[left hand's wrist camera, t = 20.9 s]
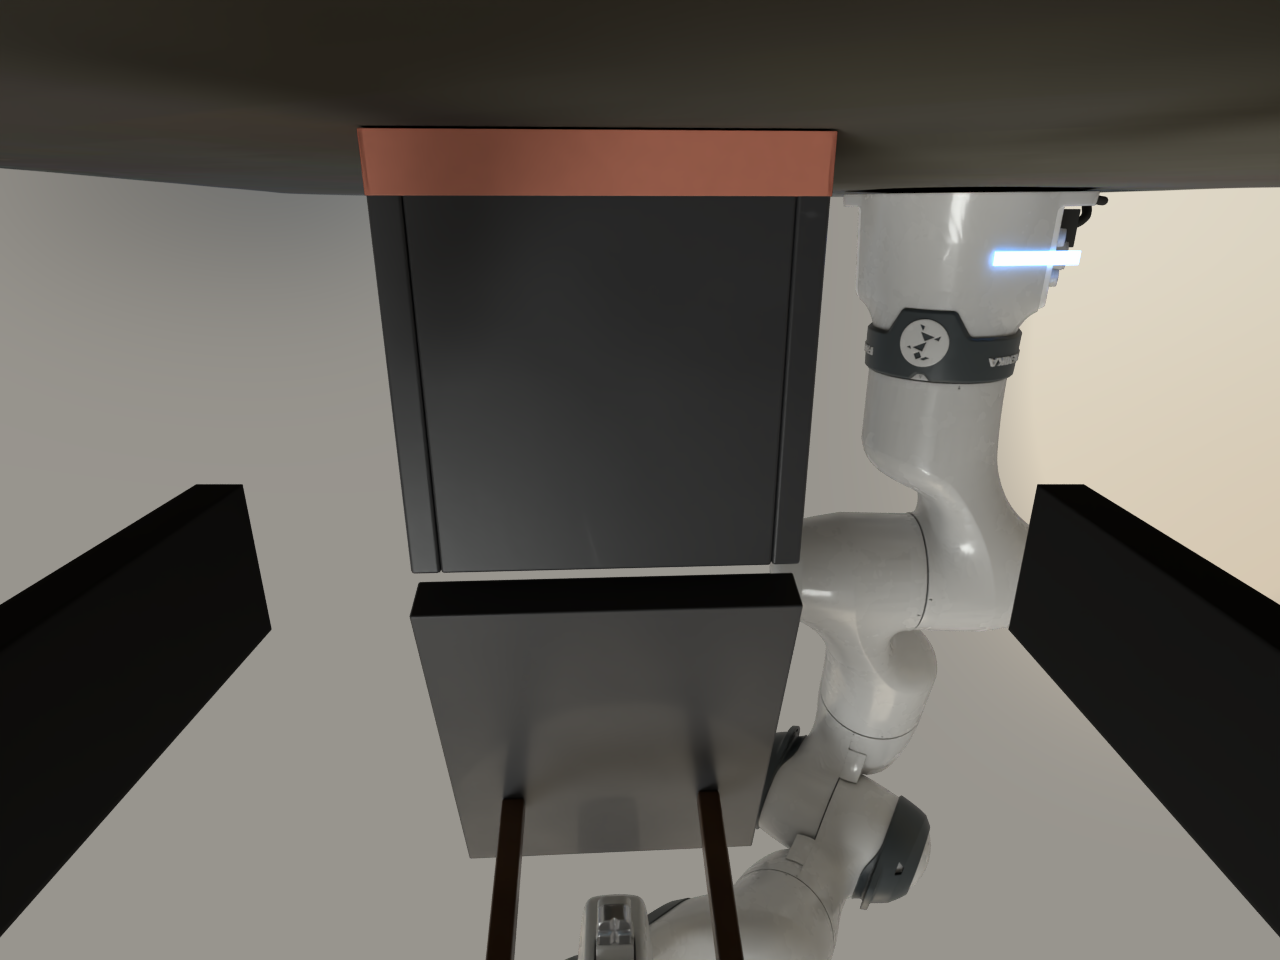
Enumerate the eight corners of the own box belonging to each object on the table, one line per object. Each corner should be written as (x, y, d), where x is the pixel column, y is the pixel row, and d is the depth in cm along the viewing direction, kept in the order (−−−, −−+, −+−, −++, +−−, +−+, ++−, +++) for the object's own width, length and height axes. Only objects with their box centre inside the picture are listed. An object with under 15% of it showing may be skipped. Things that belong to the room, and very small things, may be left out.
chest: (739, 164, 26) (727, 438, 30) (456, 163, 26) (478, 442, 29) (837, 130, 16) (800, 565, 19) (356, 127, 15) (410, 575, 18)
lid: (746, 812, 27) (794, 1088, 21) (473, 824, 27) (436, 1110, 20) (793, 571, 20) (891, 881, 13) (418, 581, 19) (330, 908, 13)
